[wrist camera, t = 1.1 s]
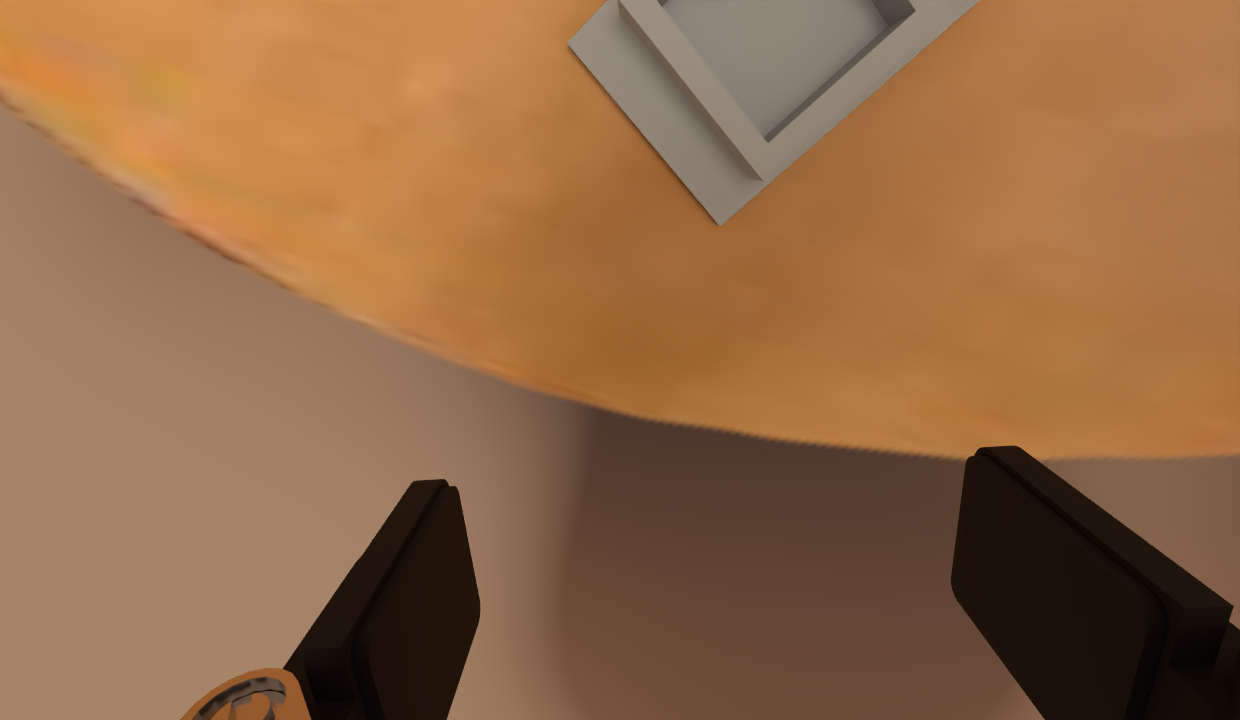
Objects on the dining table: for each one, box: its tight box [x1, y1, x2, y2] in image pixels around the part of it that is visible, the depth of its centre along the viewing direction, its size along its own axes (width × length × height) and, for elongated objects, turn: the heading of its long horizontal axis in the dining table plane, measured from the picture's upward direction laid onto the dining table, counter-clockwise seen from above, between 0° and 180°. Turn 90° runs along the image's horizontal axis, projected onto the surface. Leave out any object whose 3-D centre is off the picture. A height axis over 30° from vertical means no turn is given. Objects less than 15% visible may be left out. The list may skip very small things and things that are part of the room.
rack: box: [567, 0, 980, 226], centre depth 27 cm, size 16×12×4 cm
